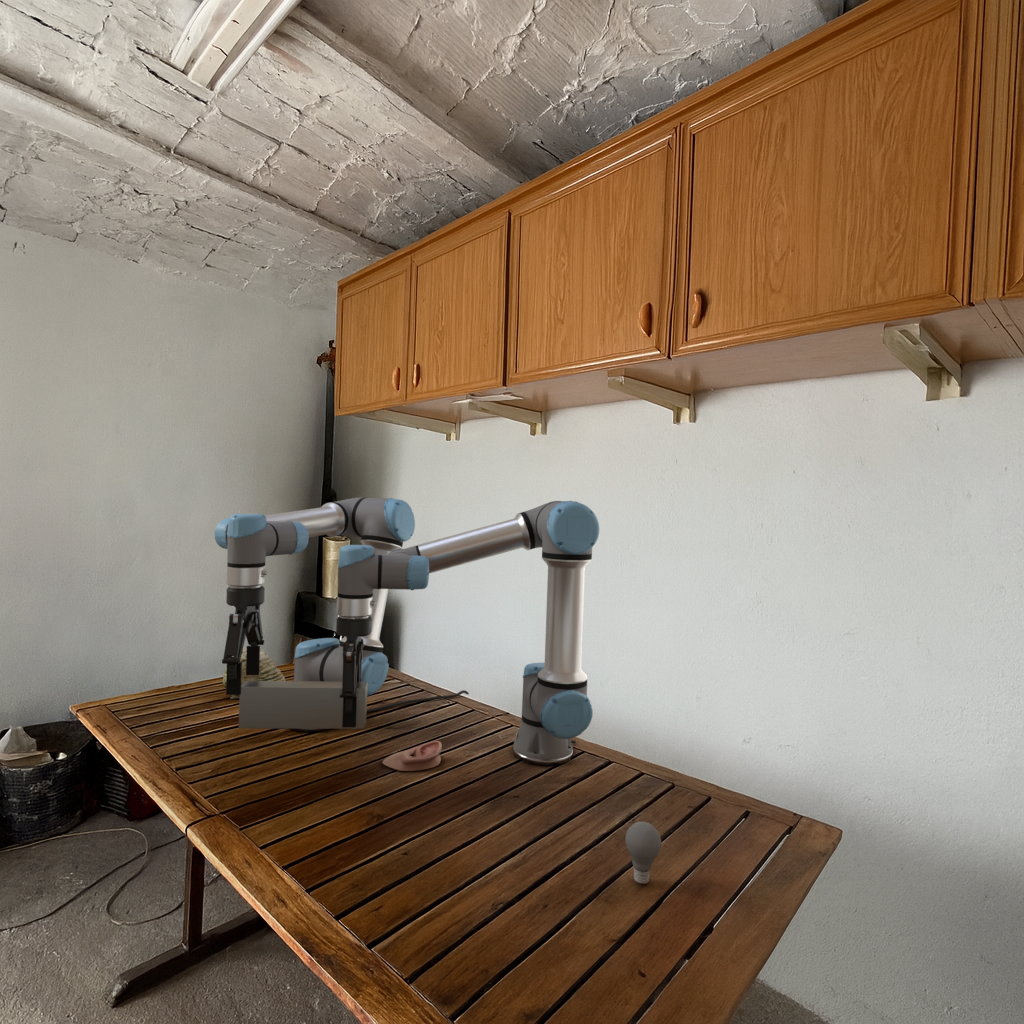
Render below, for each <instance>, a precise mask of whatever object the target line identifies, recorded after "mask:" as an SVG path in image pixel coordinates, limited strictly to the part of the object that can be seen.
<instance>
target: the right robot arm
mask: <svg viewBox="0 0 1024 1024" xmlns="http://www.w3.org/2000/svg"><path fill="white" fill-rule="evenodd" d="M599 535H600V522H599V519H598V517H597V515H596V514H595V512H594V511H593V510H592V509H591V507H589V506H588V505H585V504H583V503H581V502H578V501H575V500H574V501H573V500H553V501H552V500H551V501H549V502H546V503H543V504H541V505H539V506H536V507H534V508H531V509H528V510H525V511H522V512H518V513H516V514H515V517H514V518H512V519H507V520H503V521H500V522H497V523H492V524H489V525H486V526H483V527H478V528H475V529H470V530H468V531H463V532H461V533H456V534H453V535H449V536H445V537H442V538H438V539H434V540H430V541H427V542H423V543H419V544H417V545H414V546H409V547H405V548H402V549H396V550H393V551H391V552H390V553H389V554H388V555H377V554H375V551H374V547H373V546H369V545H362V544H346V545H343V546H342V547H340V549H339V551H338V552H339V554H338V566H337V597H336V615H337V617H336V623H335V624H336V625H335V629H336V630H335V633H336V634H337V635H338V636H339V637H346V638H347V640H346V641H345V644H343V682H342V695H340V698H343V721H342V727H356V702H357V696H356V682H361V681H362V679H361V672H362V657H363V647H364V641H363V639H361V636H362V637H363V636H367V635H369V634H371V632H372V618H371V617H370V615H371V614H372V606H374V605H375V601H372V597H373V589H389V590H410V591H415V590H425V589H426V588H428V586H429V579H430V574H433V573H436V572H440V571H444V570H448V569H451V568H455V567H458V566H462V565H465V564H469V563H473V562H476V561H479V560H483V559H487V558H490V557H494V556H497V555H501V554H504V553H508V552H509V553H510V552H512V551H515V550H519V549H524V550H526V551H531V550H533V549H539V548H541V560H543V561H544V563H545V564H546V565H547V585H546V587H547V588H546V610H545V612H546V613H545V614H546V616H545V637H544V639H545V643H544V662H531V663H528V664H526V665H525V666H524V667H523V668H524V669H523V675H522V697H521V698H522V701H521V721H520V725H519V727H518V730H516V733H515V739H514V741H513V746H512V754H513V756H515V757H516V758H517V759H518V760H520V761H522V762H524V763H528V764H532V765H535V766H558V765H563V764H565V763H568V762H569V761H571V760H572V758H573V756H574V747H573V746H574V745H575V744H576V743H577V741H576V740H574V739H573V738H576V737H578V736H580V735H581V734H582V733H583V732H584V731H585V730H587V729H588V727H589V726H590V725H591V722H592V719H593V712H594V711H593V706H592V703H591V700H590V699H589V697H588V675H587V674H586V673H585V672H584V671H583V669H582V657H583V629H584V604H585V578H586V577H585V575H586V570H585V569H586V566H587V565H588V564H590V563H591V562H592V559H593V547H594V546H595V545H596V543H597V541H598V540H599ZM573 744H574V745H573Z"/></svg>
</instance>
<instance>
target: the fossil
mask: <svg viewBox="0 0 1024 1024" xmlns="http://www.w3.org/2000/svg"><path fill="white" fill-rule="evenodd" d="M246 653H247V646H246V647H245V646H243V651H242V655H241V659H240V662H242V678H241V686H242V685H243V684H244V683H245V682H246V681H287V680H286V678H285V676H284V674H283V673H282V672H281V669H279V668H278V667H277V665H276V663H275V662H274V660H273V659H272V658H271V657H270V656H269V655H268V654H267V653H266V652H265V650H264V649H263V648H261V647H260V669H259V675H246ZM232 657H234V656H232ZM225 665H226V666H225V668H224V671H223V675H222V676H223V677H222V685H223V687H224V688H225V689H226V681H227V664H225ZM229 698H230V699H240V695H229Z"/></svg>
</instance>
